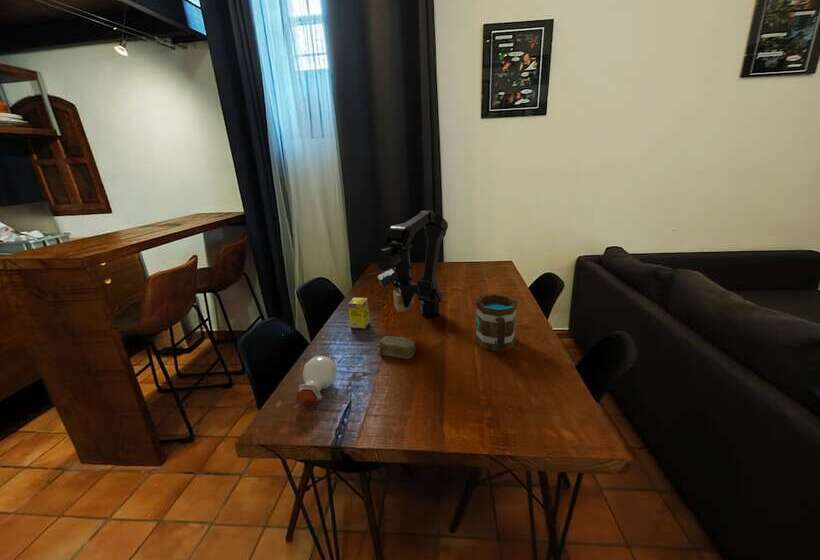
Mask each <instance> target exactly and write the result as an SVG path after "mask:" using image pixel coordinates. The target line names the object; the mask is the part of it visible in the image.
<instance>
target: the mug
mask: <svg viewBox="0 0 820 560" xmlns="http://www.w3.org/2000/svg"><path fill="white" fill-rule="evenodd" d="M475 306H476V317H475V329H476V330H475V331H476V333H475V339H474V342H475V341H476V342H477V343H478V344H477V343H476V342H475V343H476V344H477V345H478V346H479V345H480V346H479V347H480V348H481V349H482V350H483V349H484V350H489V351H493V352H497V353H498V352H499V353H502V352H504V351H508V350H512V349H513V348H514V345H515V343H516V335H515V334H516V325H517V307H518V300H516V299H515V298H513V297H512V296H511V295H505V294H497V293H491V294H486V295H485V294H484V295H480V296H479V297H478V298H477V299H476V300H475Z"/></svg>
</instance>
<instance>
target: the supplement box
mask: <svg viewBox="0 0 820 560" xmlns="http://www.w3.org/2000/svg"><path fill="white" fill-rule="evenodd" d="M347 306H348V313H349V323H350V329H351V330H360V331H365V330H366V329H367V328H368V326H369V325H370V323H371V321H370V311H369V301H368V297H353V298H351V300H350V301H349V302H348V305H347Z"/></svg>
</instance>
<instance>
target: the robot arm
mask: <svg viewBox="0 0 820 560" xmlns="http://www.w3.org/2000/svg"><path fill="white" fill-rule="evenodd" d="M448 227H449V223H448V222H447V220H446V219H445V218H444V217H442V216H441V215H438V214H437V213H435V211H432V210H421V211H420V212H418V214H416V215H415V216H413V217H412V218H411V219H409V220H407V221H405V222H404V223H398V224H393V225H391V226H390V227H389V229H388V231H387V234H386V237H385V240H384V242H383V243H384V244H383V248H382V249H380V253H379V254H378V255H377V256H376V259H375V263H376V266H377V267H378V268H379V269H380V270H381V271H383V272H382V273H380V274H378V275H377V279H378V281H379V283H380V285H381V286H382V288H386V287H387V286H389V285H390V284H392V286H394V287H395V290H399V291H398V292H399V294H400V295H402V298H403V302H404V306H405V308H408V306H409V304H410V302H411V300H412V297H413V296H414V297H415V294H416V297H417V300H418V301H421V304H420V313H421V314H422V316H423V317H424V318H425V319H427V318H429V319H430V318H434V317H440V316H441V313H440V309H439V305H440V303H442V300H443V294H442V293H441V291H440V290H439V283H438V280H437V276H436V275H437V270H438V269H437V268H438V261H439V255H440V254H439V253H440V248H441V242H442V240H443V239H444V238H445V236H446V233H447V230H448ZM423 228H424V234H425V236H426V238H427V245H426V252H425V253H426V254H425V262H424V268H423V274H422V277H421V279H418V281H417V282H416V283H415V282H414V281H413V277H412V276H411V270H412V269H413V267H412V265H411V259H410V258H411V256H410V249H411V248H412V247H413V244H411V241H412V240H413V239H415V238H414V237H415V234H416V233H417V232H418V231H420V230H421V229H423Z"/></svg>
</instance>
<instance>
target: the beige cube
mask: <svg viewBox="0 0 820 560" xmlns="http://www.w3.org/2000/svg"><path fill="white" fill-rule="evenodd" d="M398 291H399V290H397V289H394V290H392V294H393V295H392V296H393V306H394V308H395V310H396V311H397V313H401V312H406V311H413V310H415V295H414V296H413V297H412V300H411V302H410V304H409V306H408V308H405V306H404V302H403V298H402V295H400V294H399V292H398Z"/></svg>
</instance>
